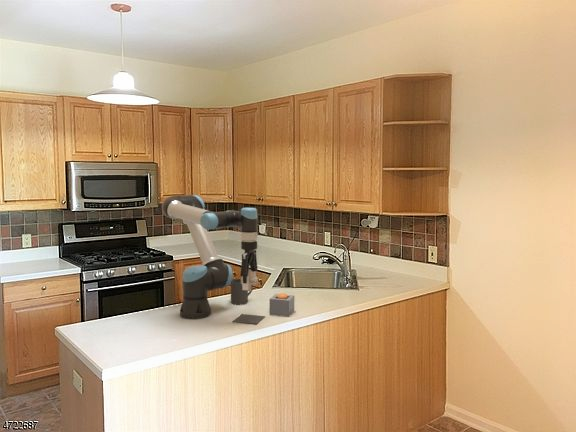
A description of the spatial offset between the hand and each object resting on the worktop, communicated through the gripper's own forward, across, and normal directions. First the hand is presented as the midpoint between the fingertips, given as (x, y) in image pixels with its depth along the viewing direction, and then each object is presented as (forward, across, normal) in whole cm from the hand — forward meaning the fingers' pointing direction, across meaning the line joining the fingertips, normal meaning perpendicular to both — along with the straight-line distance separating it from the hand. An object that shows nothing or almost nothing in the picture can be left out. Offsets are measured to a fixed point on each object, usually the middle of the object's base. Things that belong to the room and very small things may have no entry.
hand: (249, 287), depth 233 cm
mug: (+16, +28, +14) cm, 35 cm away
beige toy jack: (+2, 0, 0) cm, 2 cm away
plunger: (+9, +14, -12) cm, 21 cm away
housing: (+16, +14, -12) cm, 24 cm away
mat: (+16, 0, 0) cm, 16 cm away
